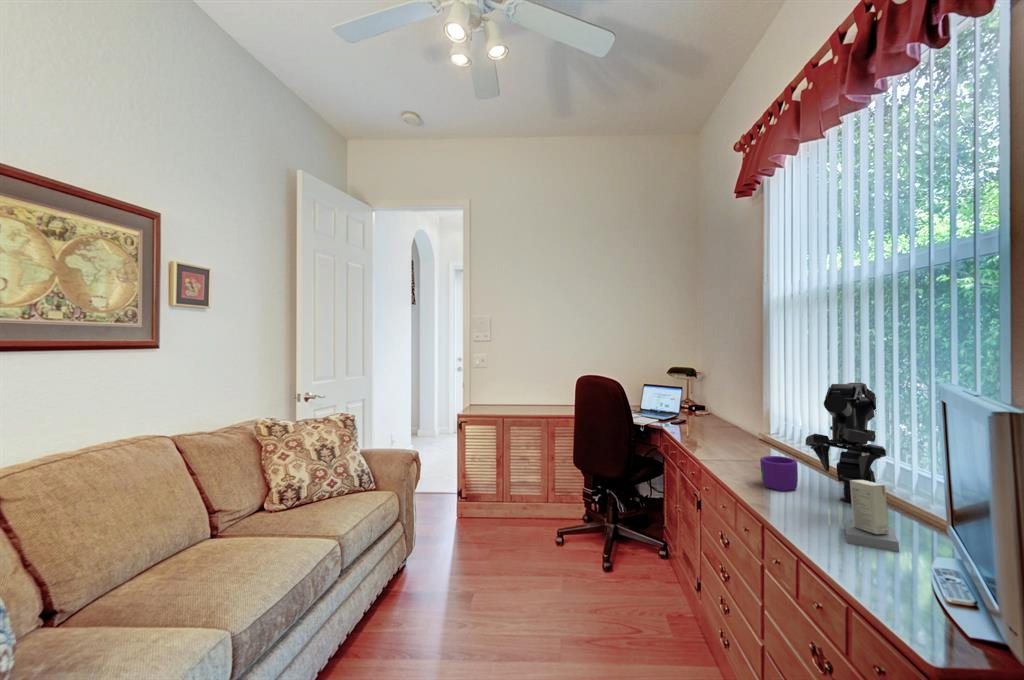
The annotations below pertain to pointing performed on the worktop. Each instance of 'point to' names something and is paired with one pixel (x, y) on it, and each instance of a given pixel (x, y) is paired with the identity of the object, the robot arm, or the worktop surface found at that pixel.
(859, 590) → the worktop surface
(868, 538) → the flat gray square pad
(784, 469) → the purple oval open container
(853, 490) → the skincare box
